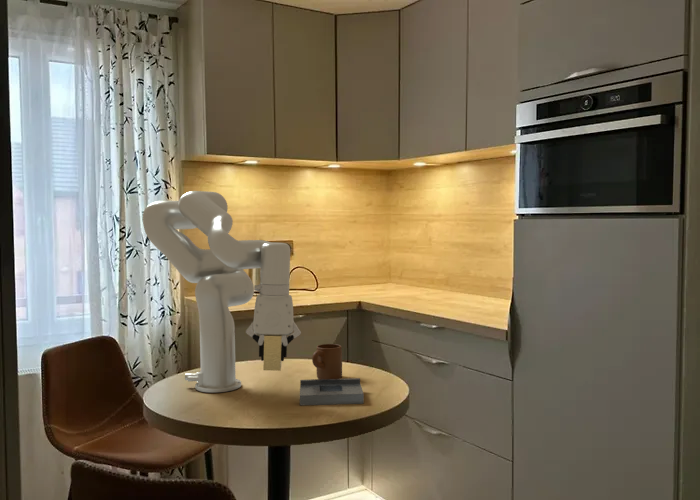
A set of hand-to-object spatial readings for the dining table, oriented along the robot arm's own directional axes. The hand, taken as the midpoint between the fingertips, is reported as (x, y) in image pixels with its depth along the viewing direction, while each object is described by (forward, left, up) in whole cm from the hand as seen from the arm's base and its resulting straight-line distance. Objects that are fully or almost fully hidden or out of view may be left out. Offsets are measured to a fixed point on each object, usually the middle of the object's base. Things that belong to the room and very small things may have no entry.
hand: (272, 359), depth 163 cm
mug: (+14, +18, -10) cm, 25 cm away
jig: (+15, -2, -10) cm, 18 cm away
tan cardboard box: (0, 0, -2) cm, 2 cm away
